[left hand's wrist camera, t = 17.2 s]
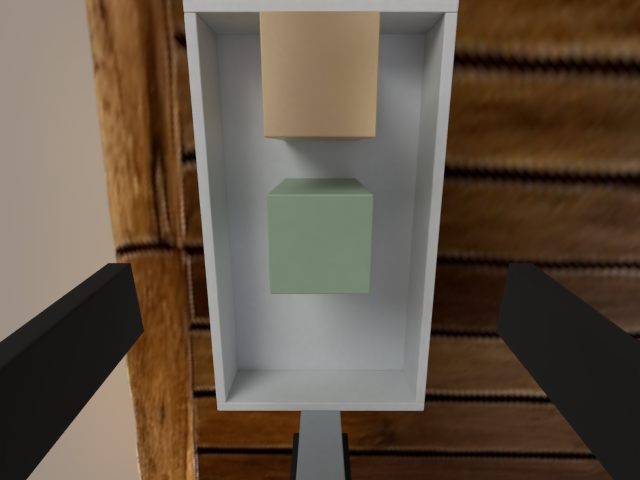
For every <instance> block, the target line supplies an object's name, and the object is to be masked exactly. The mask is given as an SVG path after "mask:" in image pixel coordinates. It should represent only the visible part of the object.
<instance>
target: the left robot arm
mask: <svg viewBox="0 0 640 480" xmlns="http://www.w3.org/2000/svg"><path fill="white" fill-rule="evenodd" d="M143 332H144V329H143V324H142V319H141V313H140V308H139V303H138V298H137V293H136V288H135V283H134V278H133V273H132V268H131V263H108V264H107V265H105V266H104V267H103V268H101V269H100V270H99V271H97V272H96V273H94V274H93V275H92V276H90V277H89V278H88V279H86V280H85V281H84V282H82V283H81V284H79V285H78V286H77V287H75V288H74V289H73V290H71V291H70V292H68V293H67V294H66V295H64V296H63V297H62V298H60V299H59V300H58V301H56V302H55V303H53V304H52V305H51V306H49V307H48V308H47V309H45V310H44V311H43V312H41V313H40V314H38V315H37V316H36V317H34V318H33V319H31V320H30V321H29V322H27V323H26V324H25V325H23V326H22V327H20V328H19V329H18V330H16V331H15V332H14V333H12V334H11V335H10V336H8V337H7V338H5V339H4V340H3V341H1V342H0V480H26V479H27V478H28V477H29V476H30V474H31V473H32V472H33V471H34V469H35V468H36V467H37V466H38V464H39V463H40V462H41V460H42V459H43V458H44V457H45V455H46V454H47V453H48V452H49V450H50V449H51V448H52V447H53V445H54V444H55V443H56V441H57V440H58V439H59V438H60V436H61V435H62V434H63V433H64V431H65V430H66V429H67V428H68V426H69V425H70V424H71V423H72V421H73V420H74V419H75V418H76V416H77V415H78V414H79V412H80V411H81V410H82V409H83V407H84V406H85V405H86V404H87V402H88V401H89V400H90V399H91V397H92V396H93V395H94V394H95V392H96V391H97V390H98V388H99V387H100V386H101V385H102V383H103V382H104V381H105V380H106V378H107V377H108V376H109V375H110V373H111V372H112V371H113V370H114V368H115V367H116V366H117V364H118V363H119V362H120V361H121V359H122V358H123V357H124V356H125V354H126V353H127V352H128V351H129V349H130V348H131V347H132V346H133V344H134V343H135V342H136V341H137V339H138V338H139V337H140V335H141V334H142V333H143ZM496 332H497V333H498V334H499V335H500V337H501V338H502V339H503V341H504V342H505V343H506V344H507V346H508V347H509V348H510V349H511V351H512V352H513V353H514V354H515V356H516V357H517V358H518V359H519V361H520V362H521V363H522V365H523V366H524V367H525V368H526V370H527V371H528V372H529V373H530V375H531V376H532V377H533V378H534V380H535V381H536V382H537V383H538V385H539V386H540V387H541V389H542V390H543V391H544V392H545V394H546V395H547V396H548V397H549V399H550V400H551V401H552V402H553V404H554V405H555V406H556V407H557V409H558V410H559V411H560V413H561V414H562V415H563V416H564V418H565V419H566V420H567V421H568V423H569V424H570V425H571V426H572V428H573V429H574V430H575V431H576V433H577V434H578V435H579V437H580V438H581V439H582V440H583V442H584V443H585V444H586V445H587V447H588V448H589V449H590V450H591V452H592V453H593V454H594V455H595V457H596V458H597V459H598V460H599V462H600V463H601V464H602V466H603V467H604V468H605V469H606V471H607V472H608V473H609V474H610V476H611V477H612V478H613V479H614V480H640V340H638V339H635V338H633V337H632V336H630V335H629V334H628V333H626V332H625V331H624V330H622V329H621V328H620V327H618V326H617V325H615V324H614V323H613V322H611V321H610V320H609V319H607V318H606V317H604V316H603V315H602V314H600V313H599V312H598V311H596V310H595V309H593V308H592V307H591V306H589V305H588V304H587V303H585V302H584V301H583V300H581V299H580V298H578V297H577V296H576V295H574V294H573V293H572V292H570V291H569V290H567V289H566V288H565V287H563V286H562V285H561V284H559V283H558V282H557V281H555V280H554V279H552V278H551V277H550V276H548V275H547V274H546V273H544V272H543V271H541V270H540V269H539V268H537V267H536V266H535V265H533V264H532V263H509V268H508V273H507V278H506V283H505V288H504V293H503V298H502V303H501V308H500V313H499V319H498V324H497V329H496Z"/></svg>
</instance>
